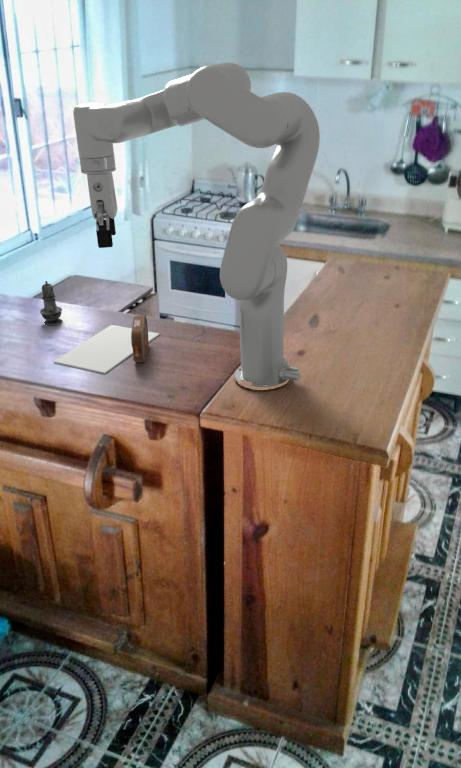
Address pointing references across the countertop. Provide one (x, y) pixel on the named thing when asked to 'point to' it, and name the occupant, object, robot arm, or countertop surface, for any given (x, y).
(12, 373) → the countertop surface
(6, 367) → the countertop surface
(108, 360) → the felt mat
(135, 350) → the tin
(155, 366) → the countertop surface
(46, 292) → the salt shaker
